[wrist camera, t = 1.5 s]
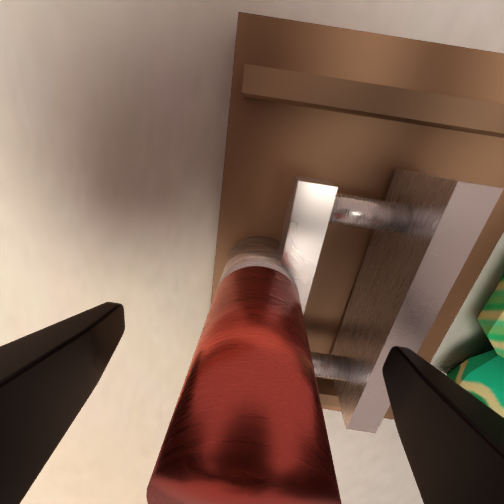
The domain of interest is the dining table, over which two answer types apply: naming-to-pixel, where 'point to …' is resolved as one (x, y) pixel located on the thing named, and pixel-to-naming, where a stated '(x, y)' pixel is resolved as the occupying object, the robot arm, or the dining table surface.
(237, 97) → the wooden vise
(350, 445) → the dining table surface
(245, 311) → the lever
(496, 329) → the candy
